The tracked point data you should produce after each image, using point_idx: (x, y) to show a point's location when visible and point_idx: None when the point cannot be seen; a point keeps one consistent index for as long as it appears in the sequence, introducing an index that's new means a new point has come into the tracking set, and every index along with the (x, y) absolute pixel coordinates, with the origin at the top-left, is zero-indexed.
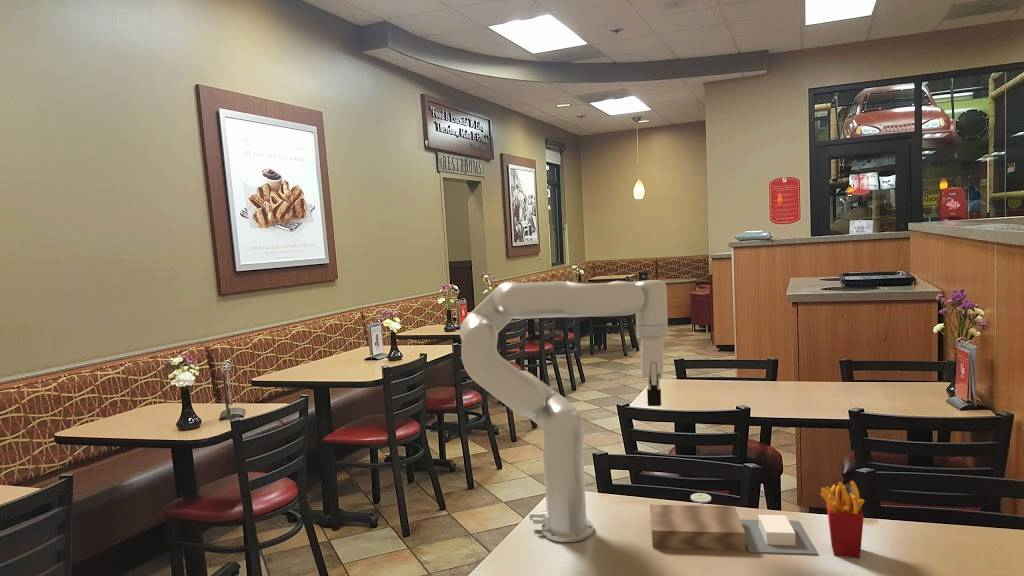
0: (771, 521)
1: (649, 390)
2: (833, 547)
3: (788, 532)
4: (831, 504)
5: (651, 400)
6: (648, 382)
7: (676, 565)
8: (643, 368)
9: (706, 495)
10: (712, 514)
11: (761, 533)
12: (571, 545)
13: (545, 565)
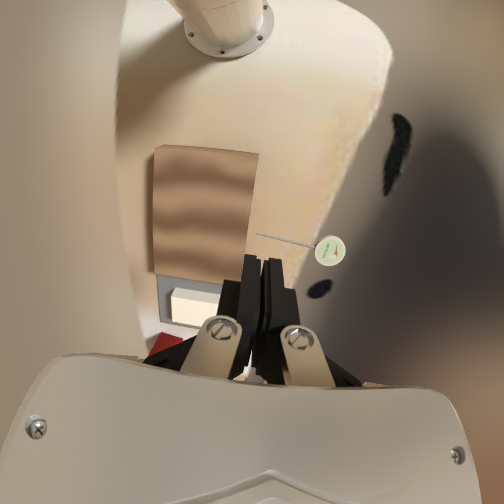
0: (201, 311)
1: (236, 320)
2: (159, 337)
3: (172, 316)
4: None
5: (222, 286)
6: (184, 364)
7: (120, 171)
8: (7, 435)
9: (333, 261)
10: (210, 250)
11: (203, 291)
12: (179, 30)
13: (129, 12)
